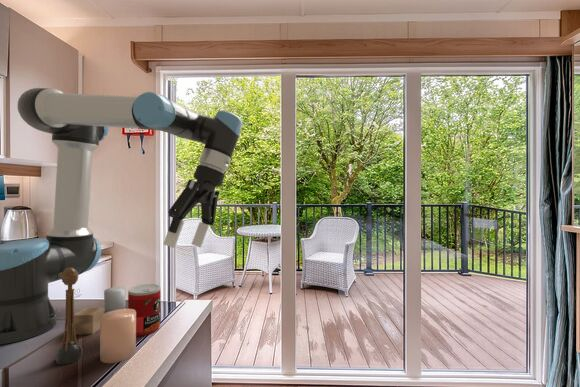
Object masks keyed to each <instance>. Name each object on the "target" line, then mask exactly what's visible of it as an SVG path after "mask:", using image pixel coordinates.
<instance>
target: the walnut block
mask: <svg viewBox="0 0 580 387" xmlns="http://www.w3.org/2000/svg"><path fill="white" fill-rule="evenodd" d="M103 314H104V306H103V307H85V308H83V309H81V310H79V311H78V312H76V313H75V314H74V326H75V334H76V335H94V334H95V333H96V332H97V331H100V317H101V316H102V315H103Z"/></svg>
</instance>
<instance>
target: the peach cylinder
mask: <svg viewBox="0 0 580 387" xmlns="http://www.w3.org/2000/svg"><path fill="white" fill-rule="evenodd" d="M99 332H100V334H99V335H100V336H99V337H100V338H99V346H100V347H99V360H100V362H101V363H105V364H116V363H120V362H124V361H126V360H128V359H130V358H132V357H133V356H134V355H135V354H136V351H137V350H136V349H137V335H136V311H135V310H134V309H128V308H125V309H118V310H113V311H110V312H107V313H105V314H103V315H102V316H101V317H100V329H99Z"/></svg>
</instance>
